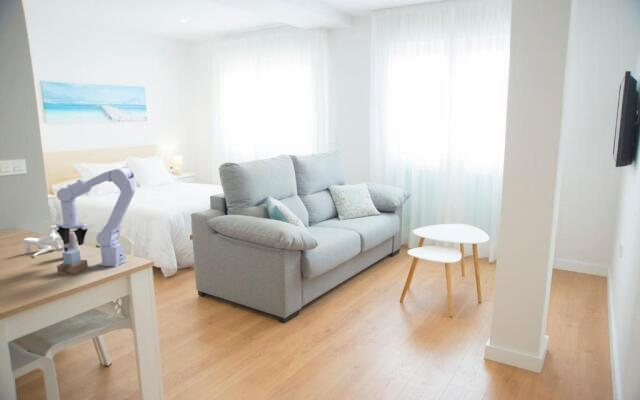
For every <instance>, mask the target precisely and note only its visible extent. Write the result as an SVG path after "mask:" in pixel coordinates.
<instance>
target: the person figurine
mask: <svg viewBox="0 0 640 400" xmlns="http://www.w3.org/2000/svg"><path fill="white" fill-rule="evenodd" d="M55 229H58V228H57V226H56V225H50V227H49V229H48V232H49V233H47V234H45V235H43V236H40V237H38V238H36V237H26V238H23V239H22V242H23V244H24V246H25V248H26V250H25V251H23V252H22V255H26V254H27V253H30V252H31V251H32V249H31V245H35V246H36V248H37V249H39V251H37V252H36V253H33V254H32V257H34V258H36V257H37V256H39V255H41V254H45V253H48V252H50V251H51V250H52V249H53V248H52V246H54V248H55V249H56V250H59V251H62V250H63V251H64V245H63V246H61V245H60V243H59V242H58V241H63V240H62V238H61V236H60V235H59V234H58V235H57V234H56V232H55Z"/></svg>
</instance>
